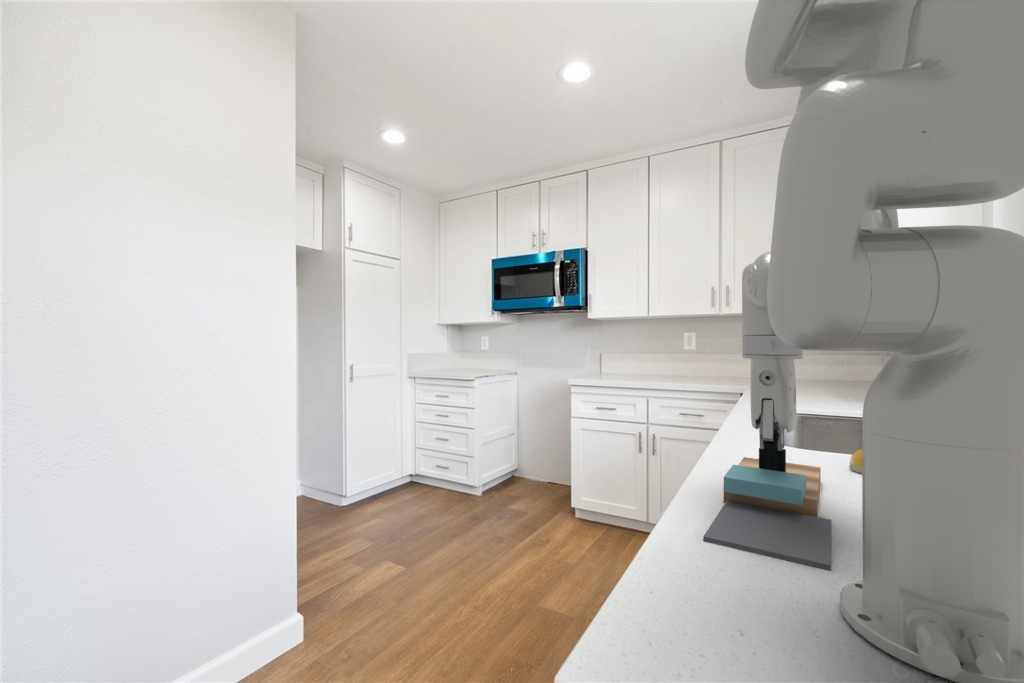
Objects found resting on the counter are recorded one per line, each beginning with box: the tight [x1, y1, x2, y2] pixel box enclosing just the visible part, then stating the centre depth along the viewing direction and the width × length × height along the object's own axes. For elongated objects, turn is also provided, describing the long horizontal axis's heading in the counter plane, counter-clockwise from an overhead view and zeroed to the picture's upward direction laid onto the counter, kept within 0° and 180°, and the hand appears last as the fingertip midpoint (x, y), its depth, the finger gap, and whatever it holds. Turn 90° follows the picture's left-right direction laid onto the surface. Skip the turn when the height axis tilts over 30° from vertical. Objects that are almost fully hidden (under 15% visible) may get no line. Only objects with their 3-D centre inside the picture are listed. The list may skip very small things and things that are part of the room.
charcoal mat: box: [702, 501, 832, 571], centre depth 55 cm, size 14×12×1 cm
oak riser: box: [723, 457, 822, 517], centre depth 69 cm, size 18×11×2 cm, turn 145°
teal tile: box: [723, 464, 806, 505], centre depth 62 cm, size 6×9×2 cm, turn 53°
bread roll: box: [849, 448, 862, 475], centre depth 79 cm, size 8×9×4 cm
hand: (772, 476), depth 66 cm, fingers closed
